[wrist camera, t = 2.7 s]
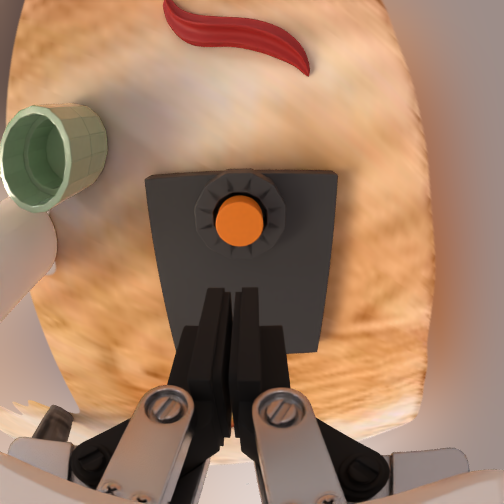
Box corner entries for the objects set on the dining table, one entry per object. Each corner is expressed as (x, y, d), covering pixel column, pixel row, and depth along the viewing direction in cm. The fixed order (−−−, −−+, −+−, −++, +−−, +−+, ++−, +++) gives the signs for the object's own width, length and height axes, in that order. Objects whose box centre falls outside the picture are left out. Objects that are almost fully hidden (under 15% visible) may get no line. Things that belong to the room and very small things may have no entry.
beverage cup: (77, 411, 35) (40, 512, 17) (83, 429, 38) (53, 519, 20) (40, 394, 34) (-2, 487, 16) (49, 414, 37) (15, 498, 19)
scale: (150, 170, 20) (135, 179, 17) (332, 165, 20) (345, 174, 17) (179, 343, 27) (173, 366, 24) (314, 342, 27) (320, 364, 24)
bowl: (38, 115, 17) (-6, 122, 12) (107, 95, 17) (66, 93, 12) (48, 194, 20) (8, 217, 15) (115, 185, 20) (79, 208, 15)
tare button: (216, 195, 18) (213, 202, 17) (262, 194, 18) (263, 201, 17) (219, 237, 19) (217, 247, 18) (262, 236, 19) (263, 246, 18)
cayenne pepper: (145, 19, 15) (136, 11, 13) (188, -25, 13) (182, -36, 11) (278, 108, 18) (281, 107, 16) (321, 62, 16) (329, 58, 15)
